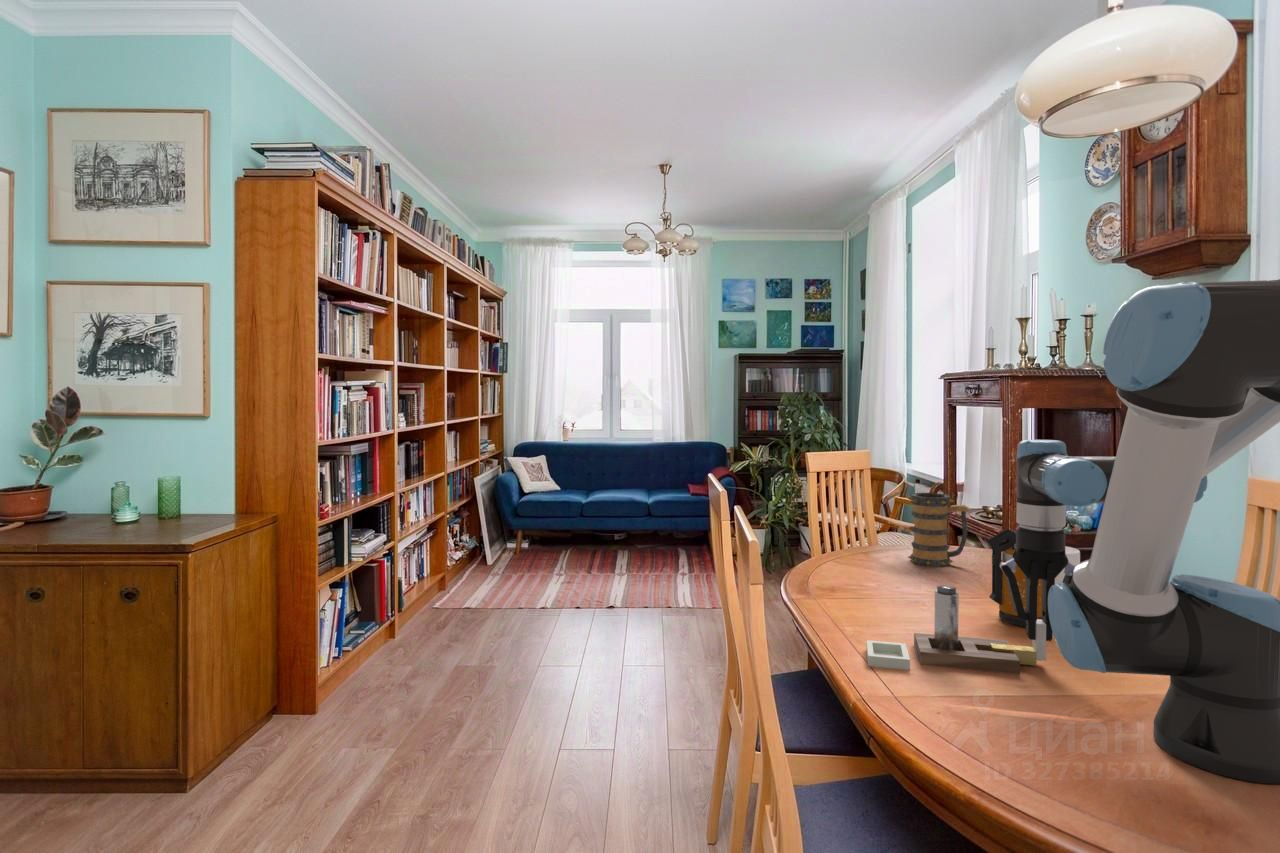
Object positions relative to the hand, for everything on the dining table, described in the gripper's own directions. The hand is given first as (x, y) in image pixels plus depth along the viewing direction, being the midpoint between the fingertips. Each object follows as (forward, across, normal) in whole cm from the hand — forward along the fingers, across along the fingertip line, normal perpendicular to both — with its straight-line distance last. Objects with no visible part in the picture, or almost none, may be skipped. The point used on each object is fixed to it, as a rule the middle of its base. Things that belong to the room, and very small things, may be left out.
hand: (1038, 657), depth 118 cm
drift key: (+1, +4, 0) cm, 4 cm away
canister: (+2, -2, -27) cm, 27 cm away
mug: (+3, +7, -78) cm, 78 cm away
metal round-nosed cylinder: (+1, +15, 0) cm, 15 cm away
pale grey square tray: (+2, +26, +4) cm, 26 cm away
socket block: (+2, +12, 0) cm, 12 cm away
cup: (+3, -14, -48) cm, 50 cm away
